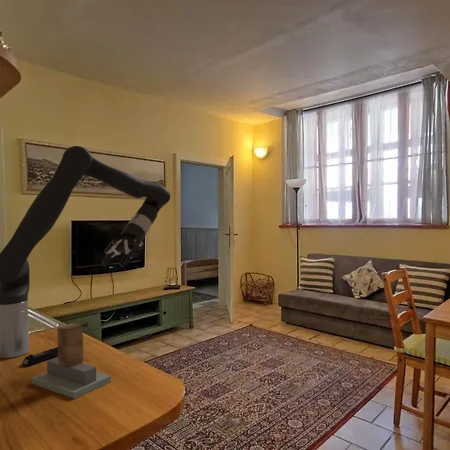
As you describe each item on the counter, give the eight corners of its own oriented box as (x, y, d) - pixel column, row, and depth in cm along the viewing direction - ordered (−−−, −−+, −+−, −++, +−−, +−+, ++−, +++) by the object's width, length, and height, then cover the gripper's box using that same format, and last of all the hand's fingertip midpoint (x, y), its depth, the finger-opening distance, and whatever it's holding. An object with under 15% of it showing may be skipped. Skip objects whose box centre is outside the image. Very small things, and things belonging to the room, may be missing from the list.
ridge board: (31, 383, 97) (31, 364, 97) (68, 369, 106) (68, 351, 106) (74, 398, 87) (73, 378, 87) (110, 381, 96) (110, 362, 96)
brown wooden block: (58, 365, 96) (57, 327, 96) (73, 359, 100) (72, 323, 100) (68, 368, 94) (67, 329, 94) (83, 362, 97) (82, 325, 97)
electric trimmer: (74, 353, 121) (74, 343, 121) (27, 368, 108) (27, 357, 108) (68, 351, 123) (67, 341, 123) (21, 366, 110) (21, 355, 110)
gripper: (116, 222, 130) (90, 257, 121) (145, 221, 123) (120, 258, 113) (128, 236, 135) (104, 271, 125) (157, 236, 127) (133, 273, 118)
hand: (112, 265), depth 119 cm, fingers open, 8 cm apart
